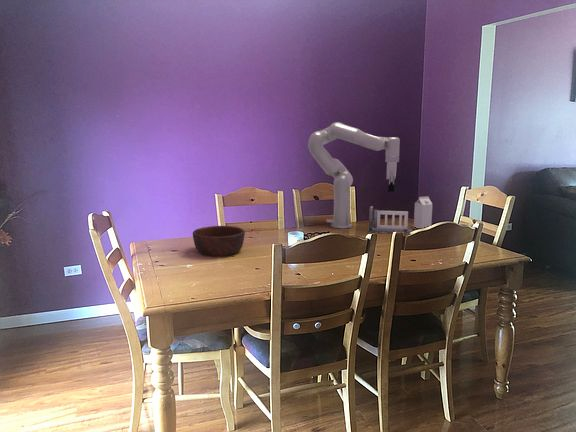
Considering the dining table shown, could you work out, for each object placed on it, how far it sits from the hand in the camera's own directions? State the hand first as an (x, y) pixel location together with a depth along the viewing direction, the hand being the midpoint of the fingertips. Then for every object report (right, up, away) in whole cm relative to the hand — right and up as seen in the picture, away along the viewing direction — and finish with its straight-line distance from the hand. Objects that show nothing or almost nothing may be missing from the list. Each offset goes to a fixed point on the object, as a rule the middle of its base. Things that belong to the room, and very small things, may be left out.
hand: (391, 191), depth 288 cm
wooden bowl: (-93, -32, -43) cm, 107 cm away
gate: (-1, -21, -1) cm, 21 cm away
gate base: (-1, -23, -1) cm, 23 cm away
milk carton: (+20, -22, +7) cm, 30 cm away
